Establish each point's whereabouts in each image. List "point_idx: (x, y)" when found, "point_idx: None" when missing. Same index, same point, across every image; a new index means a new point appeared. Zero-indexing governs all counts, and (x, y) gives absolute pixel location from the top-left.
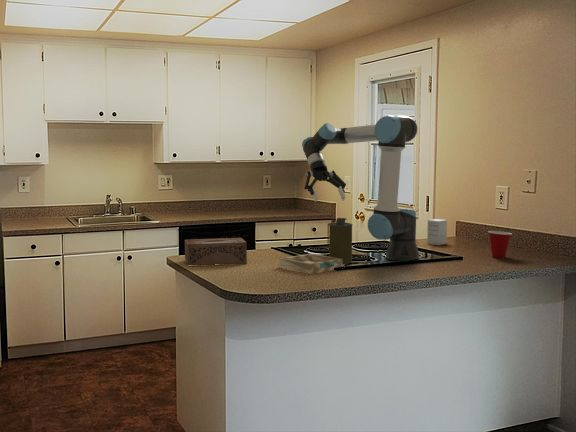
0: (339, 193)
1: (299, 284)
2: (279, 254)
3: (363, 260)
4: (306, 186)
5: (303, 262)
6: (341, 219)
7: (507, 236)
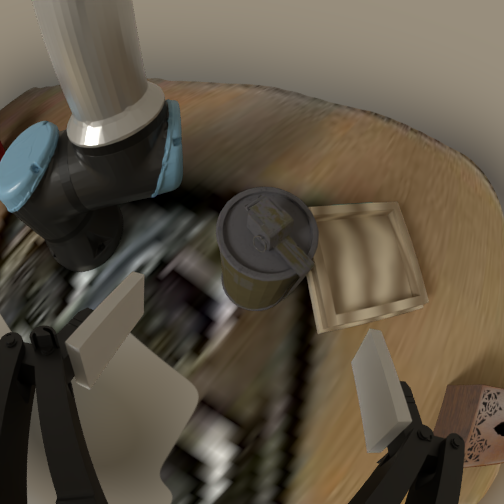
0: (110, 358)
1: (426, 166)
2: (317, 483)
3: (175, 270)
4: (451, 438)
5: (403, 226)
6: (277, 206)
7: None
